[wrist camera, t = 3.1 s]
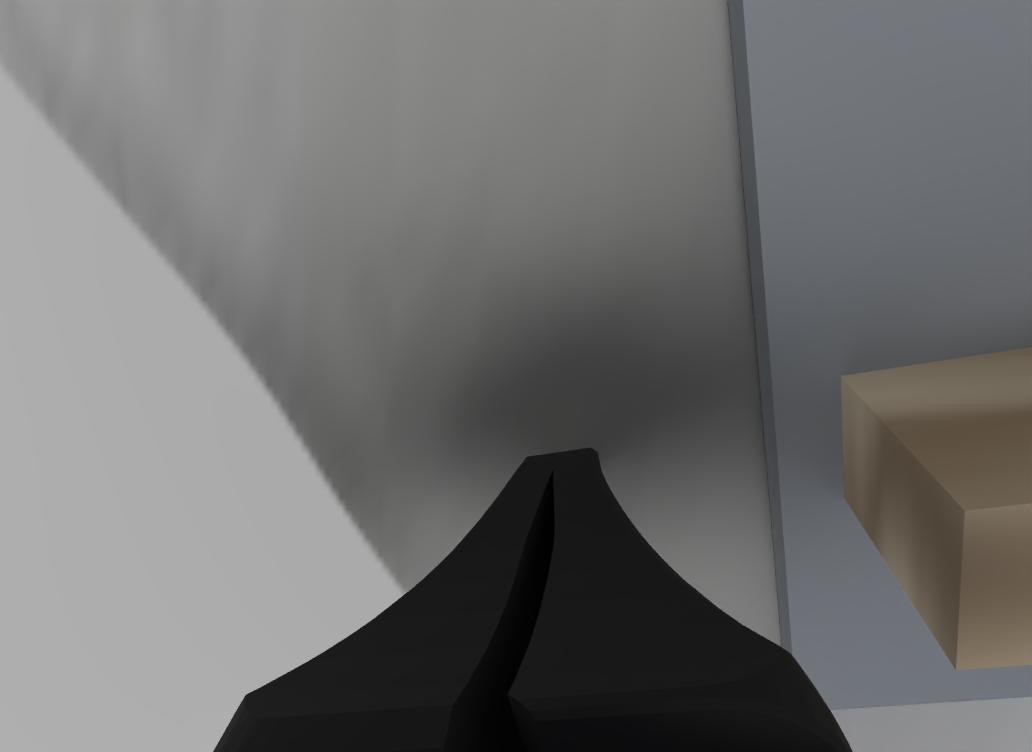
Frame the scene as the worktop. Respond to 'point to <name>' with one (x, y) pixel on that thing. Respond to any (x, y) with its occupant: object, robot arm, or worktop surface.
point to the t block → (950, 495)
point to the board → (875, 283)
